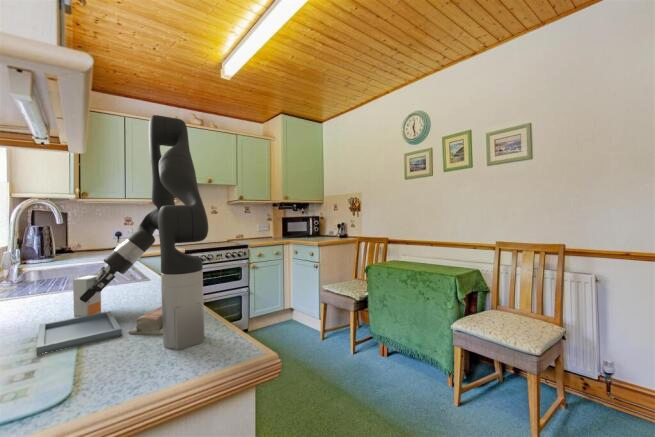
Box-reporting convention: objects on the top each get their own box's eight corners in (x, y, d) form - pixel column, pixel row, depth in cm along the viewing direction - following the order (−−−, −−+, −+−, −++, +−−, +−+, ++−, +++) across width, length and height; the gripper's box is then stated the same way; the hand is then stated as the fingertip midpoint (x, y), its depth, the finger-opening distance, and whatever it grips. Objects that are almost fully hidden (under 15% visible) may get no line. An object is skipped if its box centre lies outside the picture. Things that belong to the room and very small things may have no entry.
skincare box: (87, 318, 94) (85, 279, 94) (73, 318, 94) (72, 279, 94) (102, 312, 100) (101, 275, 100) (89, 312, 100) (88, 275, 100)
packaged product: (164, 317, 81) (127, 317, 81) (165, 336, 81) (128, 336, 81) (197, 298, 99) (166, 298, 99) (197, 313, 99) (167, 313, 99)
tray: (121, 335, 80) (121, 328, 80) (36, 355, 70) (36, 347, 70) (110, 316, 95) (110, 311, 95) (39, 330, 85) (39, 324, 85)
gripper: (111, 247, 107) (69, 287, 100) (118, 251, 96) (70, 295, 89) (130, 261, 111) (90, 300, 103) (138, 265, 100) (94, 310, 93)
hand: (81, 298), depth 96 cm, fingers closed on skincare box, 7 cm apart
